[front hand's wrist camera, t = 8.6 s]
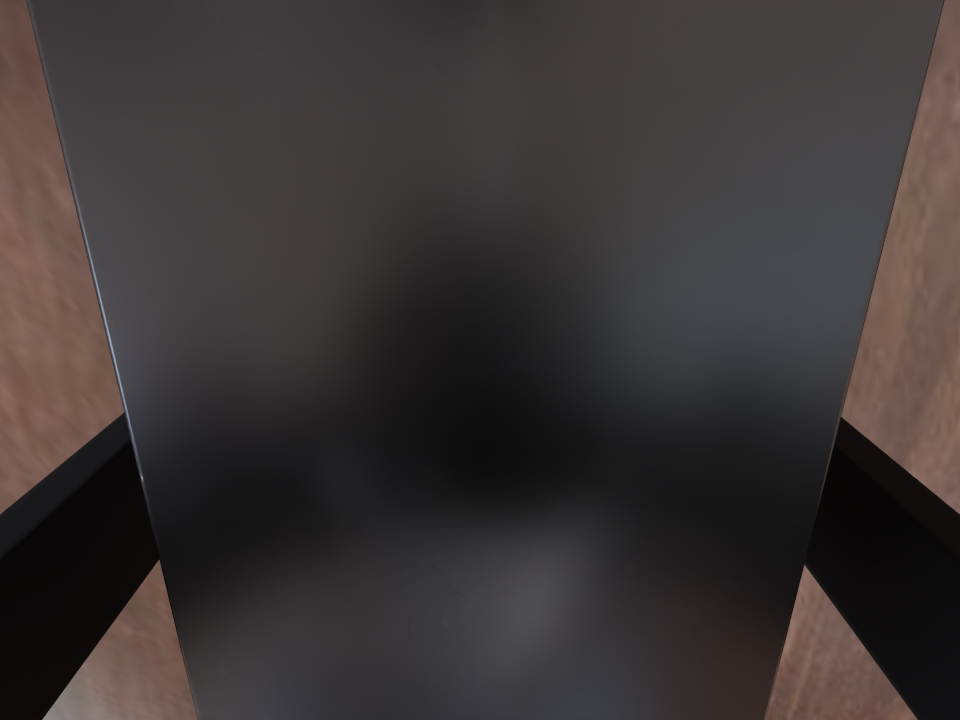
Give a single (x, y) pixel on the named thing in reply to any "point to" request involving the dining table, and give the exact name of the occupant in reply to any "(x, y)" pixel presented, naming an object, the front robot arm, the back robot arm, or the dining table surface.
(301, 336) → the bar
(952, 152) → the dining table surface
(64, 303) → the dining table surface
